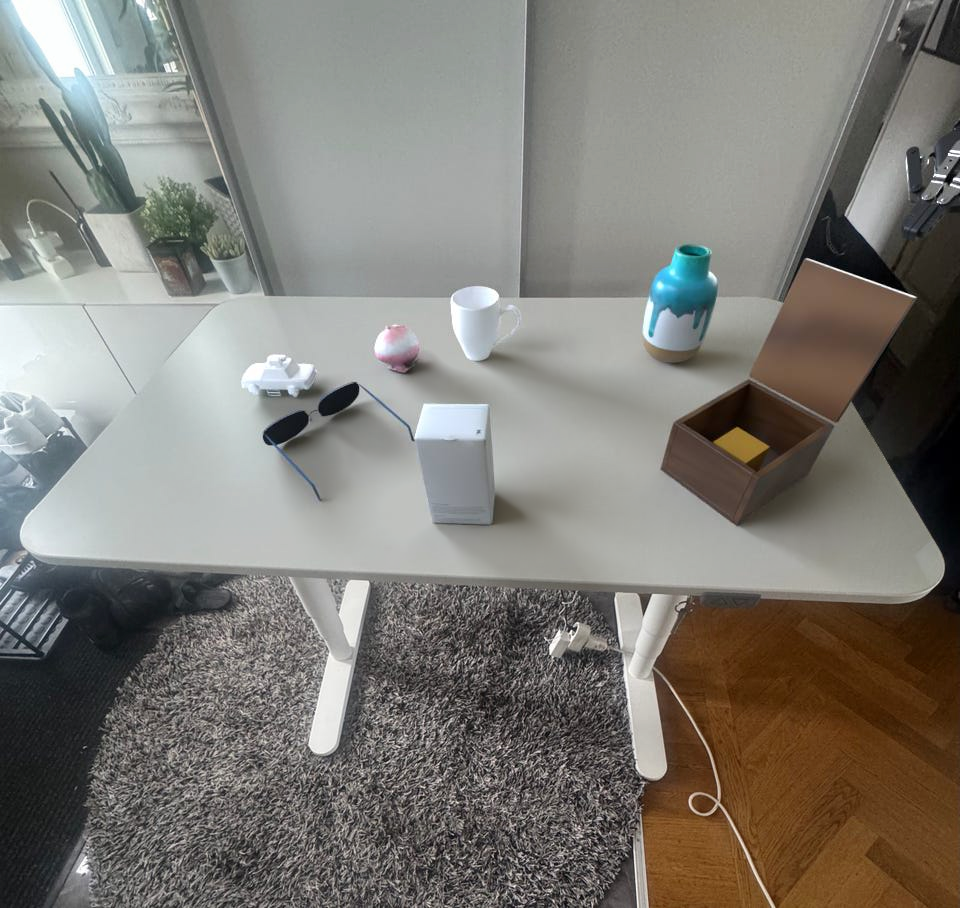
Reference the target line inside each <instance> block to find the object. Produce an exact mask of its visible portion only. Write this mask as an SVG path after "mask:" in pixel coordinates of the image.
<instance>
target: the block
mask: <svg viewBox="0 0 960 908" xmlns="http://www.w3.org/2000/svg"><path fill="white" fill-rule="evenodd" d="M713 444H715V445H716V446H718V447H719V448H721V449H723V450H724V451H726V452H727V453H729V454H730V455H732V456H733V457H735V458H736V459H738V460H739V461H741V462H742V463H744V464H746V465H747V466H749V467H750V468H752V469H753V470H755V471H756V472H758V471H759V469H760V467H761V465H762V463H763V461H764V459H765V456H766V454H767V452H768V450H769V448H770V446H768V445H766V444H765V443H763V442H761V441H760V440H758V439H756V438H755V437H753V436H751V435H750V434H748V433H747V432H745V431H743V430H742V429H740V428H738V427H736V428H735V429H733V430H731V431H730V432H728V433H727V434H725V435H723V436H722V437H720V438H719V439H717V440H716V441H714V442H713Z"/></svg>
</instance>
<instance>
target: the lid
mask: <svg viewBox="0 0 960 908" xmlns="http://www.w3.org/2000/svg"><path fill="white" fill-rule="evenodd" d="M917 299H918V296H915V295H912V294H909V293H906V292H904V291H902V290H898V289H896V288H892V287H890V286H887V285H885V284H881V283H878V282H876V281H874V280H870V279H867V278H865V277H861V276H859V275H856V274H853V273H850V272H848V271H845V270H842V269H839V268H836V267H833V266H831V265H828V264H826V263H822V262H819V261H816V260H814V259H811V258H808V257H806V258H804V259H803V261H802V262H801V265H800V267H799V269H798V271H797V273H796V275H795V277H794V279H793V281H792V284H791V285H790V287H789V290H788V292H787V293H786V296H785V298H784V300H783V303H782V304H781V307H780V309H779V311H778V313H777V316H776V318H775V320H774V321H773V323H772V325H771V327H770V330H769V332H768V334H767V336H766V338H765V340H764V342H763V345H762V347H761V349H760V351H759V353H758V355H757V357H756V359H755V361H754V363H753V366H752V368H751V370H750V371H749V374H748V378H749V379H751V380H753V381H755V382H757V383H759V384H762V386H764V387H765V386H766V388H768V389H771V390H772V391H775V392H776V393H777V394H779V395H781V396H783V397H785V398H788V399H790V401H791V400H792V402H794V403H795V402H796V404H798V405H801V406H802V407H803V408H805V409H807V410H809V411H811V412H814V413H816V414H817V415H818V416H819V415H820V416H821V417H822V418H824V419H826V420H829V421H830V422H831V423H833V424H834V423H835V424H836V423H838V422H839V421H840V419H841V418H842V417H843V415H844V414H845V412H846V411H847V409H848V407H849V406H850V404H851V403H852V401H853V399H854V398H855V396H856V395H857V393H858V392H859V390H860V389H861V387H862V386H863V384H864V382H865V380H866V379H867V377H868V376H869V375H870V372H871V371H872V369H873V368H874V366H875V365H876V363H877V361H878V360H879V358H880V357H881V355H882V354H883V353H884V351H885V349H886V347H887V346H888V344H889V343H890V341H891V340H892V338H893V337H894V335H895V333H896V332H897V330H898V329H899V327H900V326H901V324H902V322H903V321H904V319H905V317H906V316H907V315H908V313H909V311H910V309H911V308H912V307H913V305H914V304H915V302H916V300H917Z"/></svg>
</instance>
